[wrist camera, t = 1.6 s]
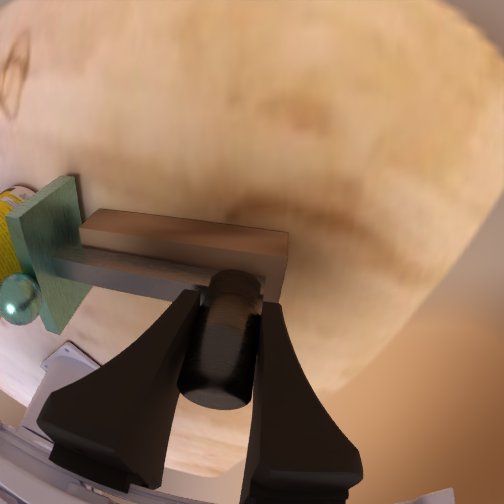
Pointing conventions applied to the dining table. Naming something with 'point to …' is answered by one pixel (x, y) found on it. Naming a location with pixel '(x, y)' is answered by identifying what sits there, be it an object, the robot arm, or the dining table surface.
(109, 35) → the dining table surface
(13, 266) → the supplement bottle
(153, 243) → the guide
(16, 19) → the dining table surface
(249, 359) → the slider rail assembly
